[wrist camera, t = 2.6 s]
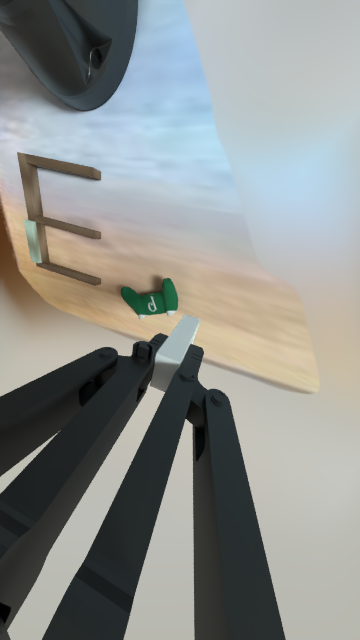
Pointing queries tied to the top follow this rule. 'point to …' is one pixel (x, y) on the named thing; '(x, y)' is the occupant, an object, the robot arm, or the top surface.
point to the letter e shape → (37, 221)
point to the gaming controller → (152, 300)
